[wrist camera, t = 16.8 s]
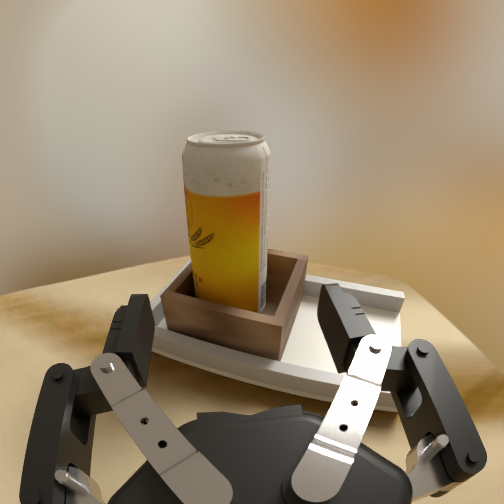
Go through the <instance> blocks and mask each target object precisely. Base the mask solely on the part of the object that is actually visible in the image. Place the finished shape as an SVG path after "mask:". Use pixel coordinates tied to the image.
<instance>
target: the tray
mask: <svg viewBox="0 0 504 504" xmlns="http://www.w3.org/2000/svg"><path fill="white" fill-rule="evenodd" d="M190 262H191V259H190V260H189V261H188V262H187V263H186V264H185V265H184V266H183V267H182V269H181V270H180V271H179V272H178V273H177V274H176V275H175V276H174V277H173V278H172V279H171V280H170V282H169V283H168V284H167V285H166V286H165V287H164V288H163V289H162V290H161V291H160V292H159V294H158V295H157V296H156V297H155V298H154V299H153V300H152V301H151V302H150V305H151V309H152V313H153V317H154V322H155V332H154V338H153V344H152V352H155V353H157V354H160V355H163V356H165V357H168V358H171V359H174V360H176V361H179V362H182V363H185V364H188V365H191V366H194V367H197V368H200V369H203V370H206V371H209V372H212V373H216V374H219V375H222V376H225V377H229V378H232V379H236V380H239V381H243V382H246V383H250V384H254V385H257V386H261V387H265V388H269V389H273V390H277V391H281V392H285V393H289V394H294V395H298V396H303V397H307V398H312V399H317V400H322V401H327V402H332V403H333V401H334V399H335V397H336V395H337V392H338V390H339V388H340V386H341V384H342V382H343V380H344V378H345V375H346V373H340V374H338V372H337V369H336V367H335V364H334V361H333V359H332V356H331V353H330V351H329V348H328V346H327V343H326V340H325V338H324V335H323V333H322V330H321V327H320V325H319V322H318V318H317V307H318V302H319V296H320V290H321V286H322V285H323V284H333V283H338V284H339V285H340V287H341V289H342V291H343V293H350V294H351V295H352V296H353V297H355V298H356V299H357V301H358V302H359V304H360V306H361V308H362V310H363V311H364V314H365V315H366V317H367V319H368V320H369V322H370V324H371V326H372V328H373V329H374V331H375V333H376V335H378V336H381V337H383V338H385V339H386V340H387V341H388V342H389V343H390V345H391V346H398V347H401V328H400V310H401V307H402V304H403V301H404V299H405V297H404V292H399V291H394V290H388V289H383V288H377V287H371V286H366V285H360V284H355V283H349V282H344V281H338V280H333V279H328V278H322V277H317V276H311V275H306V278H305V286H304V293H303V298H302V301H301V304H300V307H299V310H298V313H297V315H296V318H295V321H294V324H293V327H292V330H291V333H290V336H289V339H288V341H287V344H286V347H285V350H284V353H283V355H282V358H281V361H276V360H272V359H268V358H263V357H259V356H256V355H252V354H248V353H244V352H240V351H236V350H233V349H229V348H226V347H222V346H219V345H215V344H212V343H208V342H205V341H201V340H198V339H195V338H192V337H188V336H185V335H182V334H179V333H176V332H173V331H170V330H168V329H167V325H166V320H165V316H164V312H163V307H162V302H161V298H160V295H161V294H162V293H163V292H164V291H165V290H166V289H167V287H168V286H169V285H170V284H171V283H172V282H173V281H174V280H175V279H176V278H177V276H178V275H179V274H180V273H181V272H182V271H183V270H184V269H185V268H186V267H187V266H188V264H189V263H190ZM374 409H375V410H382V411H390V412H398V411H397V408H396V406H395V403H394V400H393V398H392V395H391V393H390V392H389V391H380V393H379V395H378V398H377V401H376V404H375V407H374Z"/></svg>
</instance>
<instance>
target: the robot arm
mask: <svg viewBox="0 0 504 504" xmlns="http://www.w3.org/2000/svg"><path fill="white" fill-rule="evenodd" d="M317 318H318V322H319V325H320V327H321V330H322V333H323V335H324V338H325V340H326V343H327V346H328V348H329V351H330V353H331V356H332V359H333V361H334V364H335V367H336V369H337V372H338V374H340V373H346V375H345V378H344V380H343V382H342V384H341V386H340V388H339V390H338V392H337V395H336V397H335V399H334V401H333V403H332V405H331V407H330V409H329V411H328V413H327V415H326V417H323V416H321V415H318V414H315V413H312V412H307V411H302V409H301V405H300V404H298V405H290V406H283V407H275V408H272V409H269V410H266V411H263V412H260V413H257V414H254V415H241V414H234V413H227V412H204V413H197V420H194V421H191V422H188V423H186V424H184V425H182V426H180V427H179V428H176V427H175V426H174V424H173V423H172V422H171V421H170V420H169V418H168V417H167V416H166V415H165V414H164V412H163V411H162V410H161V409H160V408H159V406H158V405H157V404H156V403H155V401H154V400H153V399H152V397H151V396H150V395H149V394H148V392H147V391H146V390H145V389H144V388H143V389H142V388H141V387H146V385H147V378H148V371H149V364H150V357H151V351H152V344H153V338H154V332H155V322H154V317H153V313H152V309H151V305H150V301H149V297H148V295H147V294H132V295H131V296H130V299H129V303H128V305H127V306H121V307H120V308H119V309H118V310H117V311H116V312H115V314H114V317H113V320H112V323H111V327H110V330H109V333H108V336H107V340H106V343H105V346H104V350H103V353H102V354H101V355H99V356H97V357H96V358H95V359H94V360H93V361H92V363H91V366H88V367H85V368H80V369H76V370H73V369H72V368H71V367H70V366H69V365H68V364H65V363H58V364H55V365H53V366H51V367H50V368H49V369H48V370H47V372H46V374H45V377H44V381H43V384H42V387H41V391H40V394H39V398H38V402H37V405H36V409H35V413H34V417H33V421H32V425H31V430H30V434H29V439H28V444H27V449H26V454H25V460H24V465H23V472H22V478H21V486H20V494H19V498H20V503H21V504H105V503H104V501H103V499H102V497H101V490H100V487H99V485H98V484H97V483H96V482H95V481H94V480H93V479H92V478H90V466H91V455H92V445H93V436H94V427H95V419H96V414H99V413H103V412H108V411H112V410H113V411H114V412H115V414H116V415H117V417H118V418H119V420H120V421H121V423H122V424H123V426H124V427H125V429H126V430H127V432H128V433H129V435H130V436H131V438H132V439H133V441H134V442H135V443H136V445H137V446H138V448H139V449H140V450H141V452H142V453H143V454H144V456H145V457H146V458H147V460H146V462H145V463H144V464H143V465H142V466H141V467H140V468H139V469H138V470H137V471H136V472H135V473H134V474H133V475H132V476H131V477H130V478H129V479H128V481H127V482H126V483H125V484H124V485H123V486H122V487H121V488H120V489H119V490H118V491H117V492H116V493H115V494H114V495H113V496H112V497H111V498H110V500H109V502H108V504H411V502H414V501H416V500H419V499H422V498H424V497H427V496H431V497H440V496H443V495H444V494H446V493H448V492H449V491H451V490H452V489H454V488H456V487H457V486H459V485H460V484H462V483H463V482H465V481H466V480H468V479H469V478H471V477H472V476H474V475H475V474H477V473H478V472H480V471H481V470H482V469H483V468H484V466H485V464H486V461H487V453H486V450H485V448H484V445H483V443H482V441H481V438H480V436H479V434H478V432H477V429H476V427H475V425H474V423H473V421H472V419H471V416H470V414H469V412H468V410H467V408H466V406H465V404H464V402H463V400H462V398H461V396H460V394H459V392H458V390H457V388H456V386H455V384H454V382H453V380H452V378H451V376H450V375H449V373H448V371H447V369H446V367H445V365H444V363H443V362H442V360H441V358H440V356H439V354H438V353H437V351H436V349H435V347H434V346H433V345H432V344H431V343H430V342H428V341H426V340H423V339H416V340H413V341H411V342H410V344H409V346H408V347H398V346H391V345H390V343H389V342H388V341H387V340H386V339H385V338H383V337H381V336H378V335H376V333H375V331H374V329H373V328H372V326H371V324H370V322H369V320H368V319H367V317H366V315H365V314H364V311H363V310H362V308H361V306H360V304H359V302H358V301H357V299H356V298H355V297H353V296H352V295H351V294H350V293H343V291H342V289H341V287H340V285H339V284H338V283H333V284H323V285H322V286H321V290H320V296H319V302H318V307H317ZM380 391H389V392H390V393H391V395H392V398H393V400H394V403H395V406H396V408H397V411H398V414H399V416H400V419H401V422H402V425H403V427H404V430H405V433H406V436H407V439H408V442H409V445H410V447H411V450H410V451H409V453H408V454H407V457H406V473H405V472H404V471H403V470H402V469H401V468H399V467H398V466H396V465H395V464H393V463H392V462H390V461H389V460H387V459H385V458H384V457H382V456H381V455H379V454H378V453H376V452H375V451H373V450H372V449H370V448H369V447H367V446H366V445H364V444H363V443H361V440H362V437H363V435H364V433H365V430H366V428H367V425H368V423H369V420H370V417H371V415H372V412H373V409H374V407H375V404H376V401H377V398H378V395H379V393H380Z"/></svg>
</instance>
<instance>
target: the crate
mask: <svg viewBox="0 0 504 504" xmlns="http://www.w3.org/2000/svg"><path fill="white" fill-rule="evenodd" d="M307 261H308V256H305V255H300V254H295V253H289V252H283V251H278V250H272V249H267V275H266V299H265V307H264V309H263V311H262V312H261V313H256V312H251V311H247V310H243V309H239V308H234V307H230V306H226V305H222V304H218V303H214V302H210V301H206V300H202V299H198V298H196V296H195V288H194V280H193V272H192V263H191V262H190V263H189V264H188V266H187V267H186V268H185V269H184V270H183V271H182V272H181V273H180V274H179V275H178V276H177V278H176V279H175V280H174V281H173V282H172V283H171V284H170V285H169V286H168V287H167V289H166V290H165V291H164V292H163V293H162V294H161V295H160V298H161V302H162V307H163V312H164V316H165V320H166V325H167V329H168V330H170V331H173V332H176V333H179V334H182V335H185V336H188V337H192V338H195V339H198V340H201V341H205V342H208V343H212V344H215V345H219V346H222V347H226V348H229V349H233V350H236V351H240V352H244V353H248V354H252V355H256V356H259V357H263V358H268V359H272V360H276V361H281V358H282V355H283V353H284V350H285V347H286V344H287V341H288V339H289V336H290V333H291V330H292V327H293V324H294V321H295V318H296V315H297V313H298V310H299V307H300V304H301V301H302V298H303V293H304V286H305V278H306V270H307Z"/></svg>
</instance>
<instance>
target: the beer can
mask: <svg viewBox="0 0 504 504" xmlns="http://www.w3.org/2000/svg"><path fill="white" fill-rule="evenodd" d="M182 164H183V178H184V192H185V204H186V215H187V225H188V236H189V245H190V254H191V263H192V272H193V280H194V288H195V296H196V298H198V299H202V300H206V301H210V302H214V303H218V304H222V305H226V306H230V307H234V308H239V309H243V310H247V311H251V312H256V313H261V312H262V311H263V309H264V307H265V299H266V275H267V248H268V247H267V246H268V218H269V186H270V151H269V148H268V146H267V144H266V142H265V136H264V135H262V134H259V133H255V132H248V131H214V132H206V133H201V134H196V135H193V136H190V137H188V138H187V144H186V146H185V149H184V151H183V154H182Z"/></svg>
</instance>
